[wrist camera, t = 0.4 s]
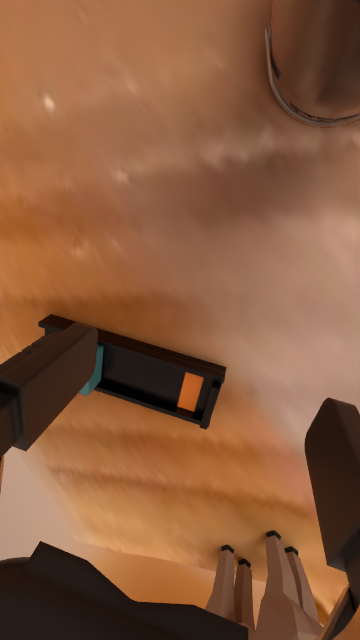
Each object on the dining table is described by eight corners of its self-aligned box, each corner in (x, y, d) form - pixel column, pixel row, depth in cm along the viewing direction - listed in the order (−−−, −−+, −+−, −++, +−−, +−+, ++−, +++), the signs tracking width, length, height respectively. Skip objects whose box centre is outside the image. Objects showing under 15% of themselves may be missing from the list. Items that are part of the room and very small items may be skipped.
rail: (50, 314, 33) (31, 325, 30) (226, 367, 30) (223, 385, 27) (51, 362, 36) (34, 377, 33) (210, 414, 33) (206, 434, 31)
